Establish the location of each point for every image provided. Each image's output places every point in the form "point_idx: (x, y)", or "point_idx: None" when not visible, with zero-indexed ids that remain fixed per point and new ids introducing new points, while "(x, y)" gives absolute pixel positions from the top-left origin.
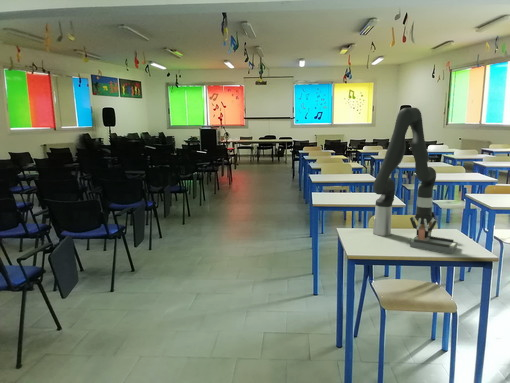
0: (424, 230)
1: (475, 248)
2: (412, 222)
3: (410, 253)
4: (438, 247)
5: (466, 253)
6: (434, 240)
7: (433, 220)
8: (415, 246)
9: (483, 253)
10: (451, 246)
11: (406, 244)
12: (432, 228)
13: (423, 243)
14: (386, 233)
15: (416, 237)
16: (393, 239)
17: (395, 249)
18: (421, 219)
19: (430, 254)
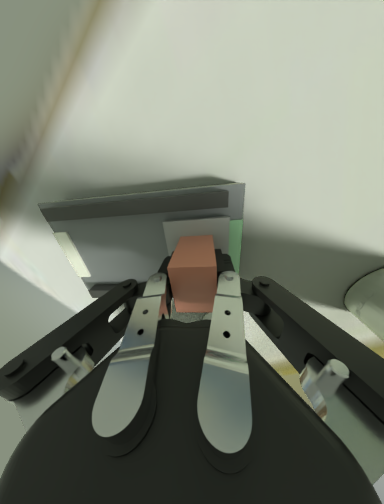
0: (170, 266)
1: (72, 298)
2: (317, 324)
3: (201, 21)
4: (98, 197)
5: (49, 243)
6: (153, 271)
7: (36, 399)
8: (211, 185)
9: (30, 271)
10: (60, 231)
11: (261, 210)
12: (106, 294)
13: (169, 192)
14: (381, 281)
15: (226, 251)
16: (331, 247)
17: (319, 37)
18: (200, 400)
19: (110, 119)
